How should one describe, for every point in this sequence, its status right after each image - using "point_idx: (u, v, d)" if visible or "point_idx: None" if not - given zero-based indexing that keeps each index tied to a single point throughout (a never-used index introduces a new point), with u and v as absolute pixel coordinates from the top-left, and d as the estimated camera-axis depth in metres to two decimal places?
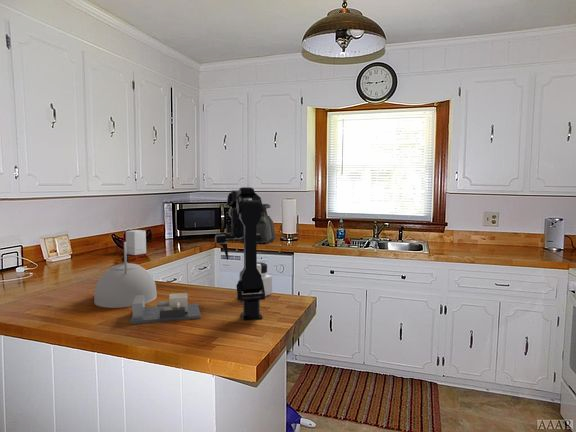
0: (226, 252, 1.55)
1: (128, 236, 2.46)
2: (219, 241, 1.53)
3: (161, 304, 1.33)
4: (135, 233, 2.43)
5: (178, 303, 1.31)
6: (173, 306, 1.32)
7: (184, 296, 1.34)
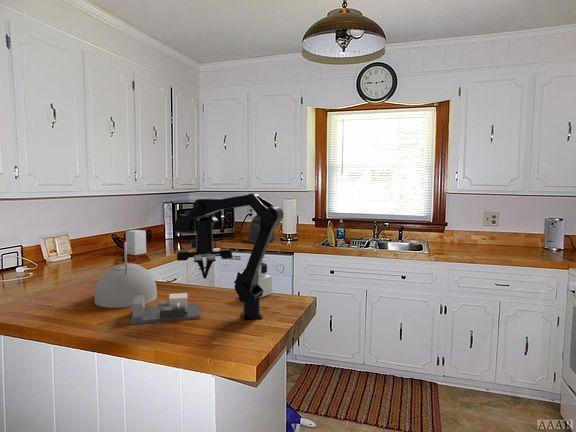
0: (202, 270, 1.35)
1: (128, 236, 2.46)
2: (180, 258, 1.31)
3: (161, 304, 1.33)
4: (135, 233, 2.43)
5: (178, 303, 1.31)
6: (173, 306, 1.32)
7: (184, 296, 1.34)
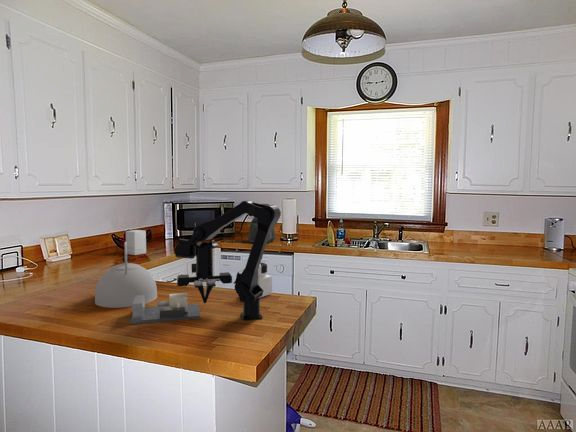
0: (202, 295, 1.35)
1: (128, 236, 2.46)
2: (181, 284, 1.32)
3: (161, 304, 1.33)
4: (135, 233, 2.43)
5: (178, 303, 1.31)
6: (173, 306, 1.32)
7: (184, 296, 1.34)
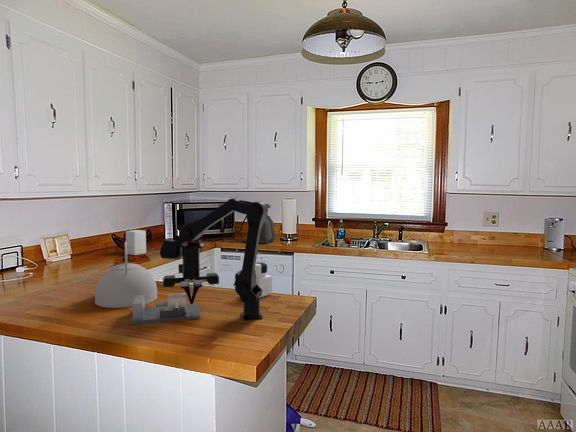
0: (189, 296, 1.34)
1: (128, 236, 2.46)
2: (166, 285, 1.30)
3: (159, 304, 1.33)
4: (135, 233, 2.43)
5: (176, 303, 1.30)
6: (171, 306, 1.31)
7: (182, 296, 1.34)
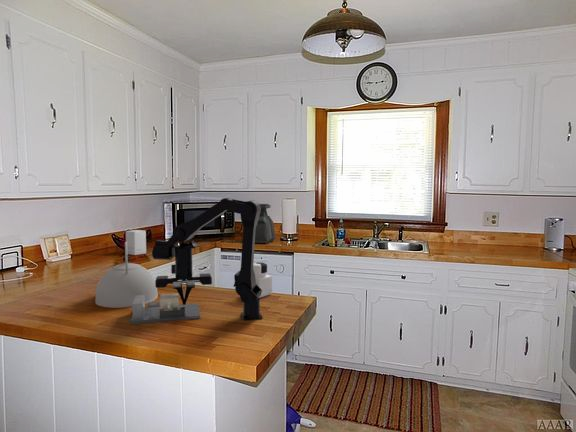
0: (181, 296, 1.33)
1: (128, 236, 2.46)
2: (159, 285, 1.30)
3: (152, 305, 1.32)
4: (135, 233, 2.43)
5: (169, 304, 1.30)
6: (164, 307, 1.31)
7: (174, 296, 1.34)
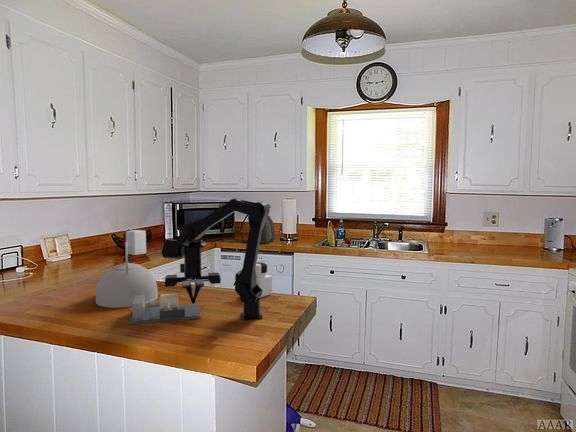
0: (191, 295, 1.34)
1: (128, 236, 2.46)
2: (168, 284, 1.31)
3: (152, 305, 1.32)
4: (135, 233, 2.43)
5: (169, 304, 1.30)
6: (164, 307, 1.31)
7: (174, 296, 1.34)
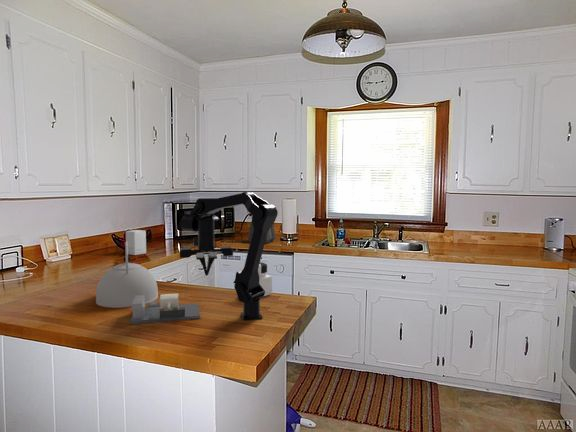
0: (204, 267, 1.39)
1: (128, 236, 2.46)
2: (183, 255, 1.36)
3: (152, 305, 1.32)
4: (135, 233, 2.43)
5: (169, 304, 1.30)
6: (164, 307, 1.31)
7: (174, 296, 1.34)
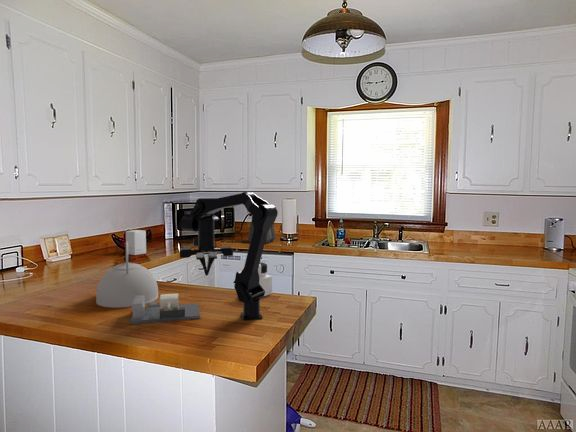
0: (204, 267, 1.39)
1: (128, 236, 2.46)
2: (183, 255, 1.36)
3: (152, 305, 1.32)
4: (135, 233, 2.43)
5: (169, 304, 1.30)
6: (164, 307, 1.31)
7: (174, 296, 1.34)
